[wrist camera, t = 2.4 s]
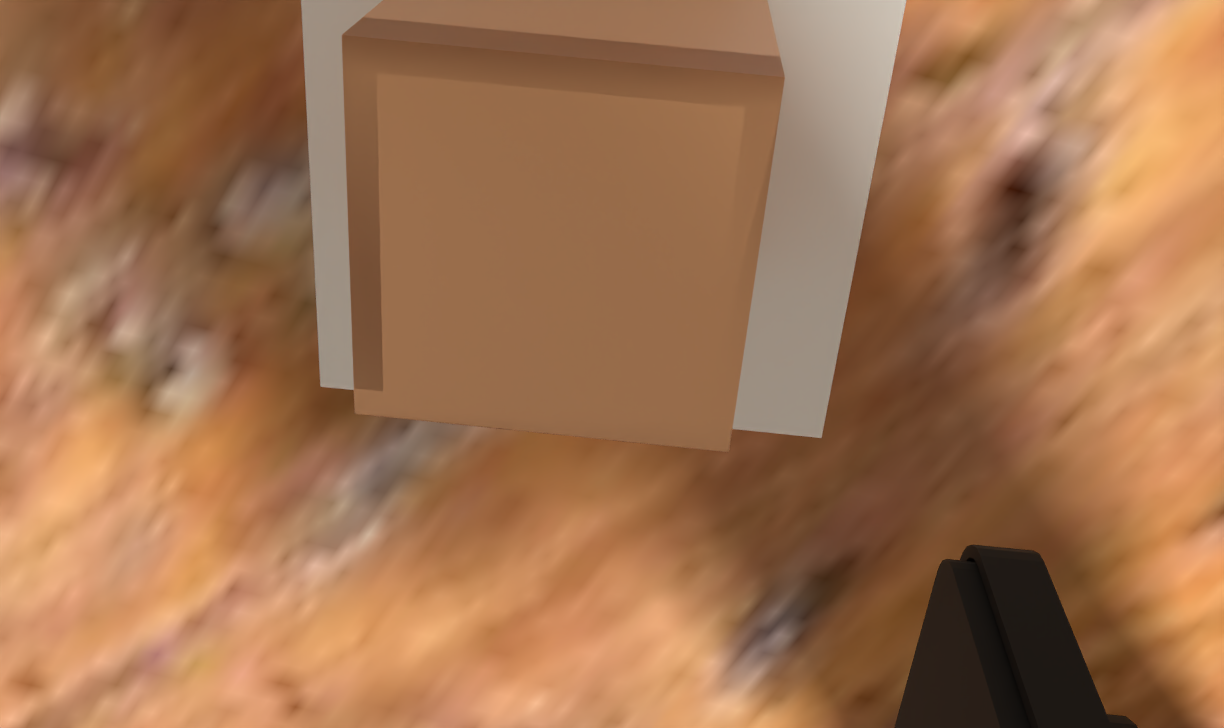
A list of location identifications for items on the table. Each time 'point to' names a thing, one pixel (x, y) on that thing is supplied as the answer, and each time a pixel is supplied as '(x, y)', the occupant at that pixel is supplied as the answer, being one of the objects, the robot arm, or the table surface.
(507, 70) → the brown block
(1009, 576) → the robot arm
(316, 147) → the post board
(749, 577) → the table surface
